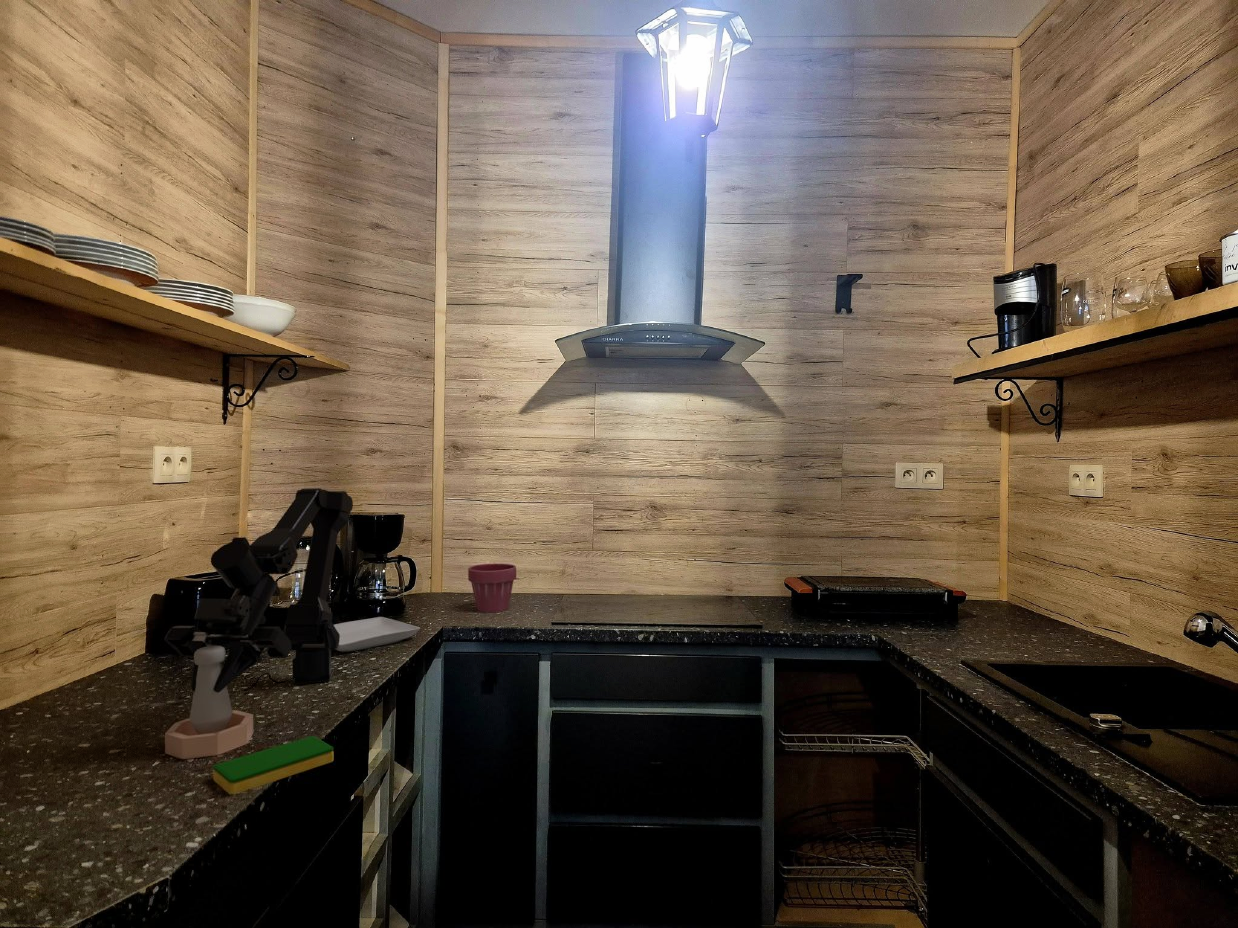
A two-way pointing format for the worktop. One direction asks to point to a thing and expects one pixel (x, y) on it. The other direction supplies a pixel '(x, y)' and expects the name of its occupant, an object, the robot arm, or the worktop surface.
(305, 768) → the dish sponge
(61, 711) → the worktop surface
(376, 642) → the salad plate
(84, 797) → the worktop surface
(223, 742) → the pink octagonal dish
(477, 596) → the plant pot
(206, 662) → the salt shaker
